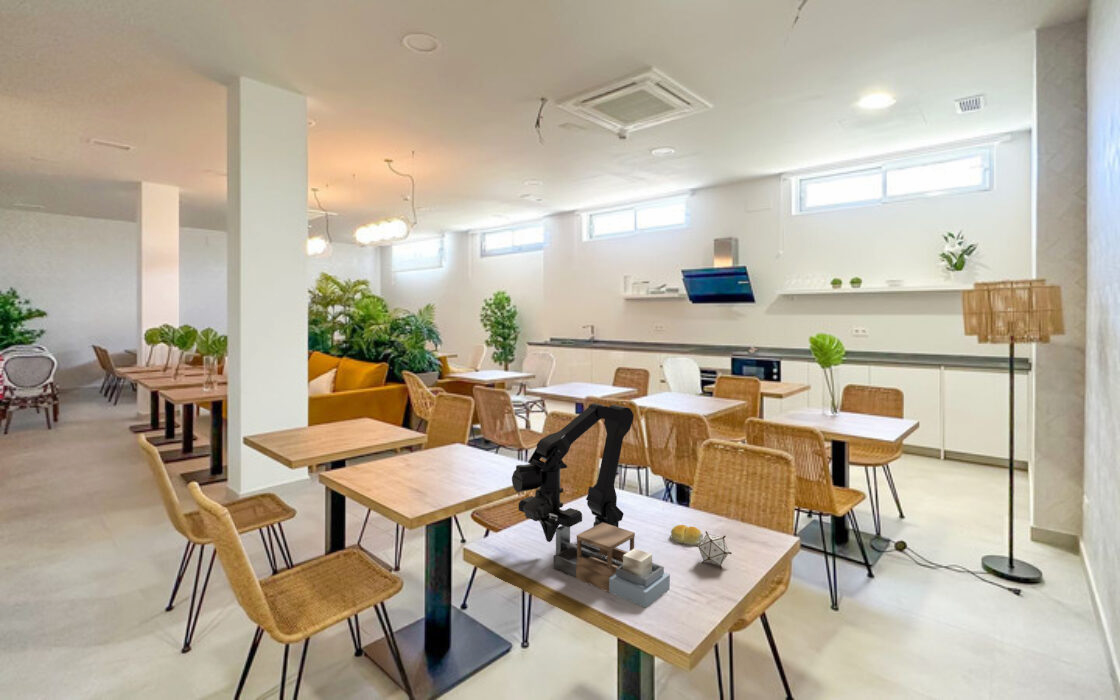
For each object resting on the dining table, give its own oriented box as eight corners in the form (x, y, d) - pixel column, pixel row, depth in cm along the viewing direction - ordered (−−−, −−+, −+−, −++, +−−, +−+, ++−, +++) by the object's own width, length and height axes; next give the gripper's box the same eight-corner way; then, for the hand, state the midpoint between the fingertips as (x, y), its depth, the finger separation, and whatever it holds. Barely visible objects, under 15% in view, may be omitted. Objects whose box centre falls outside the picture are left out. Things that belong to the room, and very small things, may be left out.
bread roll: (676, 531, 159) (676, 519, 158) (705, 538, 154) (705, 525, 154) (666, 541, 152) (666, 527, 151) (696, 548, 147) (696, 534, 147)
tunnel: (553, 568, 134) (553, 527, 133) (579, 554, 142) (580, 515, 142) (609, 592, 123) (609, 547, 122) (634, 575, 131) (634, 532, 130)
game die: (713, 581, 135) (707, 560, 130) (693, 557, 142) (686, 537, 137) (740, 561, 137) (735, 540, 132) (718, 539, 144) (713, 518, 138)
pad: (609, 592, 123) (609, 577, 122) (634, 575, 131) (634, 561, 131) (645, 607, 116) (646, 592, 116) (669, 588, 124) (669, 574, 124)
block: (622, 575, 123) (623, 555, 123) (634, 568, 127) (634, 548, 127) (640, 582, 120) (641, 561, 120) (651, 574, 124) (652, 554, 124)
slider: (550, 560, 136) (550, 530, 136) (570, 550, 143) (570, 521, 142) (645, 599, 118) (646, 565, 117) (663, 585, 124) (664, 553, 123)
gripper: (504, 485, 141) (504, 541, 142) (556, 501, 129) (556, 562, 130) (532, 476, 149) (532, 528, 150) (583, 490, 137) (583, 547, 138)
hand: (549, 541), depth 142 cm, fingers closed
